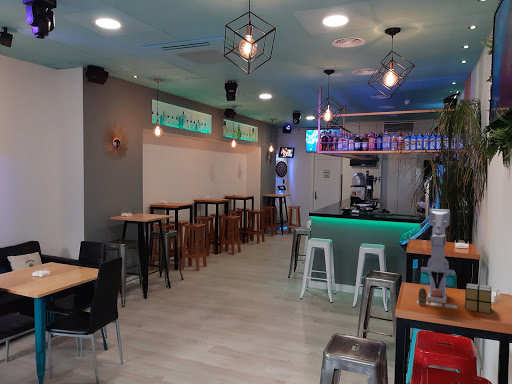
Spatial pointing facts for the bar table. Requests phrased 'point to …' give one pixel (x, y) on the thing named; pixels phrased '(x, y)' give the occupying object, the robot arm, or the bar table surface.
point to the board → (440, 304)
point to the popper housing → (436, 298)
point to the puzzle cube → (478, 298)
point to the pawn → (422, 296)
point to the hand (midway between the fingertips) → (437, 288)
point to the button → (437, 293)
